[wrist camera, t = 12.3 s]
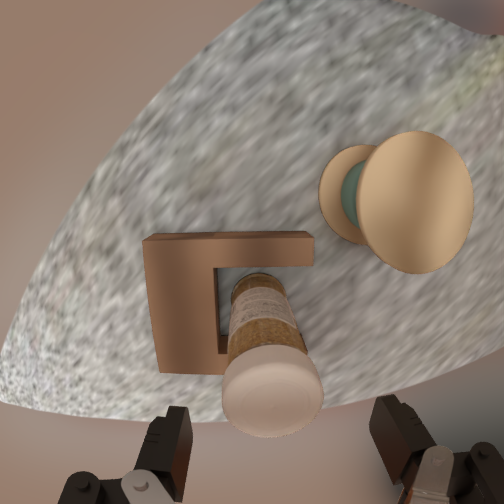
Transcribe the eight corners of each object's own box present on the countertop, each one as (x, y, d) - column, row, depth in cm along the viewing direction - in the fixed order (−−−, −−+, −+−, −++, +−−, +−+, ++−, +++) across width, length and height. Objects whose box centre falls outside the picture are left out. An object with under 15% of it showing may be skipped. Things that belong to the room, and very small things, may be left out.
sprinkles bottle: (273, 329, 26) (298, 447, 13) (222, 312, 25) (207, 428, 12) (294, 281, 25) (344, 380, 12) (241, 262, 24) (242, 353, 11)
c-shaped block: (305, 231, 24) (314, 237, 21) (299, 353, 26) (305, 371, 23) (153, 233, 24) (142, 240, 21) (167, 354, 26) (159, 372, 23)
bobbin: (406, 150, 23) (473, 142, 14) (403, 242, 24) (467, 270, 16) (318, 142, 22) (360, 121, 14) (317, 243, 24) (357, 277, 15)
